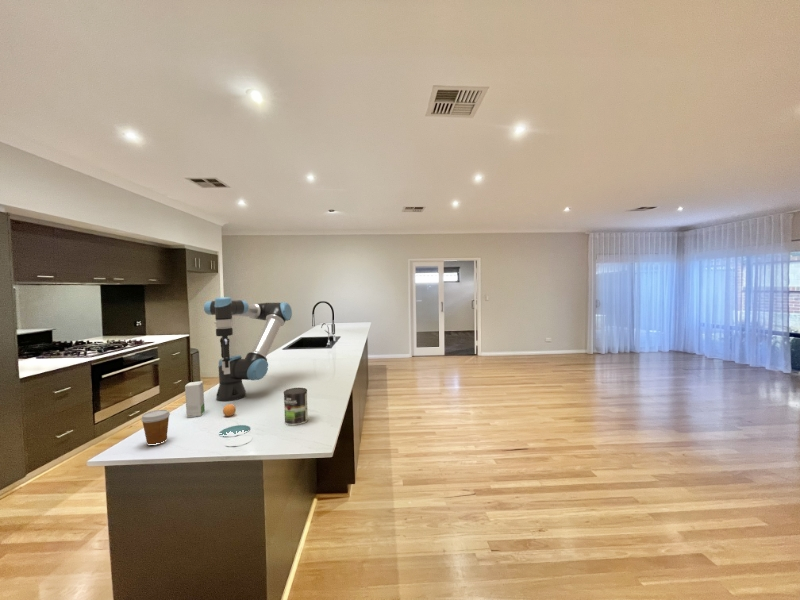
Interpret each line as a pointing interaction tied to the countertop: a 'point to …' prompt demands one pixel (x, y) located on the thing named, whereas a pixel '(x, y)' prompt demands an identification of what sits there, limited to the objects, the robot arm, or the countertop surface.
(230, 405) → the ball
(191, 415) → the skincare box
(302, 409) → the coffee can
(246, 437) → the countertop surface
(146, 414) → the disposable coffee cup
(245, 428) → the disc
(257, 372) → the robot arm
